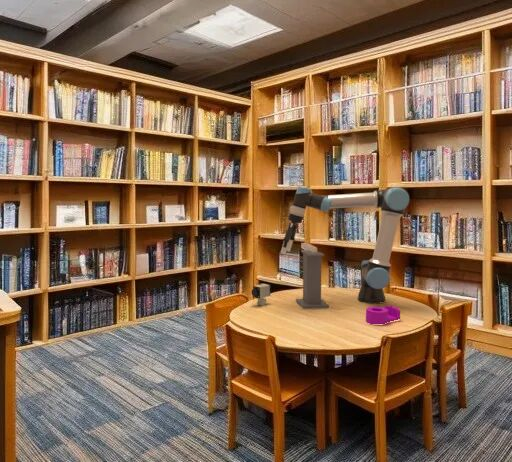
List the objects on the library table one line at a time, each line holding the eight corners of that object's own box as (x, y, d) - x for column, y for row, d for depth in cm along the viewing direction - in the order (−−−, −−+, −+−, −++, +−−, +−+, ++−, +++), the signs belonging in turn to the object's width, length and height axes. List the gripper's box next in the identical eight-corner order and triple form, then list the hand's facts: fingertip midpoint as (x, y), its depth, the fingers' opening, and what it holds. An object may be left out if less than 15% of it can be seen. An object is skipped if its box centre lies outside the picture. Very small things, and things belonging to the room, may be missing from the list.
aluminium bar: (317, 253, 222) (317, 247, 222) (311, 253, 222) (311, 247, 222) (306, 248, 244) (306, 243, 244) (301, 248, 244) (301, 243, 243)
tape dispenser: (376, 327, 190) (376, 313, 189) (361, 321, 199) (361, 308, 198) (401, 321, 198) (401, 308, 197) (385, 316, 206) (385, 304, 206)
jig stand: (329, 308, 221) (329, 254, 218) (303, 309, 219) (303, 254, 216) (319, 300, 238) (319, 249, 236) (295, 300, 236) (295, 250, 234)
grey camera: (272, 303, 231) (272, 282, 230) (257, 307, 222) (257, 285, 221) (264, 302, 234) (264, 281, 233) (250, 305, 226) (250, 284, 225)
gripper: (293, 212, 237) (283, 248, 239) (285, 212, 213) (274, 251, 215) (306, 216, 235) (295, 252, 238) (299, 216, 211) (287, 256, 214)
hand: (285, 252), depth 227 cm, fingers open, 13 cm apart
